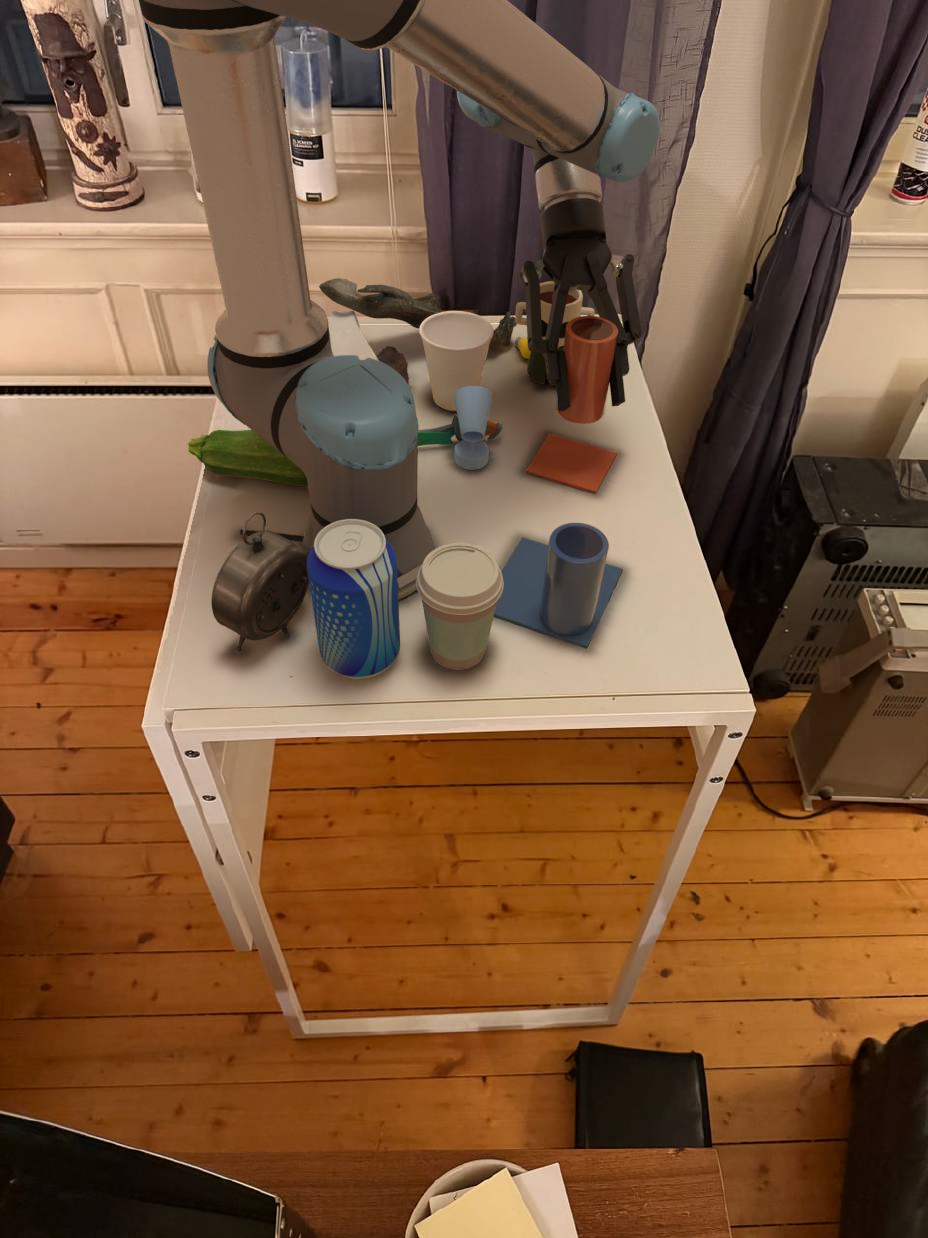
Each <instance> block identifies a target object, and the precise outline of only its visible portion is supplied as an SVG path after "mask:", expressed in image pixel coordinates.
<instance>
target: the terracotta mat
mask: <svg viewBox="0 0 928 1238" xmlns="http://www.w3.org/2000/svg"><path fill="white" fill-rule="evenodd" d="M617 455H618V452H617V451H613V450H609V449H606V448H603V447H599V446H596V445H592V444H588V443H585V442H582V441H577V440H574V439H571V438H567V437H563V436H560V435H557V434H552V433H549V434H548V436H547V437H546V439H545V440H544V442H543V443H542V445H541V446H540V448H539V450H538V451H537V453H536V455H535V456H534V457H533V458H532V460H531V462H530V464H529V465H528V467H527V468H526V470H525V474H527V475H531V476H534V477H537V478H538V477H539V478H541V479H544V480H548V481H551V482H555V483H558V484H561V485H564V486H568V487H571V488H575V489H578V490H581V491H585V492H588V493H591V494H595V495H596V494H597V493H598V491H599V489H600V487H601V485H602V484H603V481H604V480H605V478H606V476H607V474H608V472H609V470H610V468H611V466H612V464H613V463H614V461H615V459H616V457H617Z"/></svg>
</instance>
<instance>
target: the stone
mask: <svg viewBox="0 0 928 1238" xmlns="http://www.w3.org/2000/svg"><path fill="white" fill-rule="evenodd" d="M376 357H377V359H378V360H379V361H380V362H383V363H385V364H386V365H388V366H390V367H391V368H393V369H394V370H396V371H397V372H398V373H399V374H400V375H401V376H402V377H403V378H404V379H405V381H406V382H407V384H408V385H409V382H410V376H409V373H408V367H409V363H408V362H407V358H406V357H405V355H404V353H402V352H399V350H398V349H397V348H396V347H395V346H393V345H391V346H390V345H389V346H388V345H387V346H385V347H384V348H382V349H381V351H380V352H379V353H378V354H377V355H376Z"/></svg>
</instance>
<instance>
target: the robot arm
mask: <svg viewBox="0 0 928 1238" xmlns="http://www.w3.org/2000/svg"><path fill="white" fill-rule="evenodd" d="M138 3H139V9H140V12H141V16H142V19H143V21H144V22H145V23H146V24H147V25H148V26H149V27H151V29H152V30H154V31H155V32H156V33H158V34H159V36H161V37H162V38H163V39H164V40H165V41H166V43H167V45H168V48H169V52H170V56H171V58H170V59H171V62H172V66H173V71H174V76H175V81H176V84H177V89H178V95H179V99H180V104H181V109H182V112H183V113H182V114H183V117H184V121H185V127H186V130H187V135H188V141H189V146H190V149H191V155H192V159H193V164H194V168H195V173H196V178H197V182H198V187H199V191H200V196H201V201H202V205H203V210H204V215H205V220H206V224H207V229H208V233H209V236H210V243H211V247H212V252H213V257H214V260H215V261H214V262H215V264H216V265H215V266H216V271H217V275H218V280H219V284H220V288H221V293H222V298H223V302H224V307H225V309H224V310H223V312H222V313H221V314H220V315H219V316H218V318H217V319H216V322H215V325H214V333H215V334H214V337H213V340H214V344H213V346H212V347H211V346H210V347H209V350H208V354H207V362H206V365H207V374H208V380H209V383H210V386H211V389H212V391H213V393H214V395H215V396H216V398H217V399H218V400H219V401H220V403H221V404H222V405H223V407H224V408H225V409H226V410H227V412H229V413H230V414H231V416H232V417H234V418H235V419H236V420H237V421H239V422H240V423H242V425H244V426H246V427H248V428H249V430H253V431H254V432H255V433H256V434H258V435H259V436H260V437H262V438H263V439H264V440H265V441H267V442H268V443H269V444H270V445H272V446H273V447H274V448H275V449H277V450H278V451H279V452H280V453H282V454H283V455H284V456H286V457H287V458H288V459H289V460H291V461H292V462H293V463H294V464H295V465H297V466H298V467H299V468H300V469H301V470H302V471H303V472H304V473H305V475H306V477H307V482H308V487H307V488H308V489H307V490H308V497H309V503H310V514H309V517H308V521H307V523H306V527H305V531H304V534H303V535H301V534H293V533H292V534H291V533H282V532H276V533H277V534H278V535H280V536H282V537H284V538H286V539H288V540H290V541H292V542H301V547H302V548H303V549H304V550H305V551H306V553H307V555H309V552H310V550H311V549H312V547H313V546H314V541H315V538H316V536H317V534H318V533H319V532H320V531H321V530H322V529H323V528H324V527H326V526H327V525H329V524H331V523H333V522H336V521H340V520H345V519H358V520H364V521H367V522H370V523H372V524H374V525H376V526H377V527H378V528H379V529H380V530H381V531H382V532H383V534H384V536H385V539H386V540H387V541H388V542H389V543H390V544H391V546H392V547H393V549H394V551H395V554H396V559H397V581H398V601H399V600H402V599H405V598H406V597H407V596H409V595H411V594H413V593H414V592H415V591H418V590H417V586H416V580H417V576H418V571H419V569H420V567H421V565H422V564H423V562H424V560H425V558H426V557H427V555H428V554H429V553H430V552H432V551H433V550H434V549H435V544H434V539H433V536H432V533H431V531H430V529H429V527H428V526H427V523H426V521H425V518H424V516H423V513H422V511H421V507H420V506H419V503H418V502H419V501H418V499H419V497H418V479H419V478H418V475H419V474H418V471H419V470H418V469H419V467H418V458H419V457H418V456H419V455H418V451H419V450H418V449H419V448H418V447H419V446H418V430H419V419H418V417H417V409H416V403H415V397H414V393H413V391H412V389H411V387H410V385H409V383H408V384H407V382H406V381H405V379H404V378H403V377H402V376H401V375H400V374H399V373H398V372H397V371H396V370H394V369H393V368H391V367H390V366H388V365H386V364H385V363H383V362H380V361H378V360H375V359H372V358H366V359H365V360H360V359H359V358H358V356H356V355H339V356H334V355H333V353H332V349H331V341H330V333H329V319H328V316H327V313H326V310H324V308H323V307H321V306H320V305H319V304H318V303H317V302H315V301H313V300H312V299H311V294H310V293H311V292H310V288H309V280H308V271H307V264H306V259H305V250H304V241H303V234H302V228H301V227H302V226H301V220H300V213H299V206H298V198H297V192H296V191H297V190H296V183H295V177H294V168H293V163H292V153H291V147H290V138H289V131H288V125H287V118H286V109H285V103H284V96H283V95H284V94H283V88H282V81H281V80H282V79H281V73H280V65H279V58H278V51H277V43H276V34H277V32H278V31H279V29H280V28H281V26H282V25H283V24H284V22H285V21H286V19H287V18H288V19H291V20H294V21H298V22H302V23H305V24H308V25H310V26H313V27H315V28H317V29H320V30H323V31H326V32H329V33H331V34H333V35H335V36H337V37H340V38H341V39H343V40H345V41H347V42H349V43H350V44H351V45H353V46H354V47H356V48H358V49H361V50H364V51H378V50H381V49H384V48H387V49H388V50H389V51H391V52H393V53H395V54H396V55H398V56H399V57H402V58H403V59H405V60H406V61H408V62H410V63H411V64H413V65H415V67H418V68H419V69H421V70H423V71H424V72H426V73H427V74H429V75H431V76H432V77H433V78H435V79H437V80H439V81H440V82H442V83H444V84H446V85H447V86H449V87H450V88H452V89H454V90H455V91H456V96H457V101H458V105H459V107H460V109H461V111H462V113H464V115H465V116H466V117H468V118H469V119H470V120H472V121H474V122H475V123H477V124H478V126H480V128H485V129H488V130H491V131H492V132H495V133H497V134H499V135H501V136H503V137H506V138H508V139H510V140H512V141H515V142H517V143H518V144H520V145H522V146H525V148H529V149H530V150H531V154H532V155H531V156H532V163H533V169H534V170H533V171H534V179H535V187H536V188H535V189H536V197H537V198H536V199H537V207H538V211H539V213H540V215H539V219H538V220H539V228H540V229H539V230H540V237H541V238H540V239H541V246H542V253H541V256H540V258H538V259H536V260H534V261H532V260H525V262H524V264H523V265H522V266H521V268H520V270H519V276H520V279H521V281H522V284H523V286H524V294H525V302H526V309H525V314H526V315H525V316H526V317H525V318H527V325H526V337H527V340H528V349H529V351H531V352H539V353H541V354H542V356H543V357H545V364H546V373H547V379H546V380H547V381H548V383H549V384H550V383H551V382H555V383H556V385H555V393H556V403H557V402H558V411H565V410H567V409H568V408H569V407H571V405H570V395H569V386H568V377H567V368H566V358H565V351H558V352H557V348H558V344H559V338H560V333H561V328H562V323H563V317H564V312H565V307H566V301H567V296H568V293H569V292H572V291H574V290H581V292H586V293H587V295H588V297H589V299H591V300H592V302H593V305H594V308H595V310H596V312H597V314H598V317H601V318H604V319H607V320H609V321H611V322H612V323H614V324H615V325H616V327H617V329H618V336H617V342H616V348H615V353H614V359H613V365H612V371H611V377H610V382H609V390H610V399H611V401H610V402H611V407H618V406H620V405H622V404H624V403H625V402H626V394H625V386H624V377H625V376H626V375H628V374H629V372H630V362H629V353H628V347H629V345H632V344H634V343H635V342H636V341H638V340H639V339H640V338H641V337H642V326H641V321H640V314H639V308H638V302H637V297H636V290H635V285H634V279H633V278H634V277H633V270H634V264H635V256H634V255H633V254H631V253H627V254H625V256H622V255H619V254H614V253H612V250H611V248H610V247H609V245H608V243H607V230H606V220H605V211H604V206H603V204H602V203H601V202H602V200H603V191H602V183H601V179H603V178H606V179H609V180H612V181H614V182H617V183H627V182H630V181H632V180H634V179H636V178H637V177H639V176H640V175H641V174H642V173H643V172H644V170H645V169H646V168H647V166H648V165H649V164H650V162H651V159H652V156H653V155H654V152H655V150H656V149H657V145H658V143H659V137H660V130H661V121H660V116H659V112H658V109H657V107H656V106H655V105H654V104H653V103H651V102H650V101H649V100H646V99H645V98H641V97H639V96H638V95H637V94H636V93H634V92H627V91H623V90H621V89H619V88H617V87H615V86H614V85H612V83H610V82H609V81H607V80H606V79H605V78H604V77H602V75H600V74H598V73H597V72H595V71H594V70H593V69H592V68H591V67H590V66H589V65H588V64H586V63H585V62H584V61H582V60H581V59H580V58H579V57H577V56H576V55H575V54H573V52H571V51H570V50H569V49H568V48H567V47H565V46H564V45H562V44H561V43H560V42H559V41H558V40H557V39H556V38H554V37H553V36H551V34H549V33H548V32H547V31H545V30H544V29H543V28H542V27H541V26H539V24H537V23H536V22H535V21H533V20H532V19H530V18H529V17H528V16H527V15H526V14H525V13H524V12H522V11H521V10H519V8H517V7H516V6H515V5H513V4H512V3H511V2H510V1H509V0H138ZM608 266H610V268H611V271H612V274H613V276H614V277H615V287H616V293H617V299H618V305H619V310H620V316H619V314H618V312H617V309H616V307H615V304H614V301H613V299H612V297H611V295H610V293H609V290H608V283H607V280H606V278H605V275H604V274H605V272H606V270H607V268H608ZM542 271H544V273H545V274H546V275H547V276H548V278H550V281H553V282H554V283H555V285H554V291H553V296H552V299H553V300H552V305H551V311H550V316H549V321H548V327H547V332H546V337H545V340H544V339H542V319H541V297H540V283H541V282H540V279H541V278H542V276H543V272H542ZM620 317H621V319H620ZM259 531H260V530H251V529H246V537H248V536H250V535H252V534H254V533H256V532H259ZM242 533H243V528H242V529H240V530H239V535H240V536H242Z"/></svg>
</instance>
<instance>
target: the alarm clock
mask: <svg viewBox="0 0 928 1238" xmlns="http://www.w3.org/2000/svg"><path fill="white" fill-rule="evenodd" d="M256 516H261V518H262V520H263V523H262V529H261V530H258V531H259V532H256V533H254V534H252V535H250V536H246V530H248V526H249V523H250V522H251V520H252V519H253V518H254V517H256ZM266 528H267V518H266V515H265V514H264V512H262V511H258V510H257V511H254V512H253V513H251V514H250V515H249V516H248V517H247V518H246V521H245V522H244V524H243V527H242V530H243V533H242V535H241V536H242V540H241V541H240V542H239V543H238V544H237V545H236V546H235V547H234V548H233V549H232V550H231V552H230V553H229V555H228V556H227V557H226V559H225V560H224V562H223V563H222V565H221V567H220V568H219V570H218V573H217V575H216V578H215V580H214V583H213V587H212V593H211V603H210V604H211V605H210V606H211V610H212V615H213V617H214V619H215V620H216V622H217V623H218V624H219V625H221V626H222V627H225V628H227V629H229V630H230V631H232V632H234V633H235V634H237V635H239V638H238V645H237V646H236V648H235V651H236V652H237V653H240V652H242V651H243V646H244V644H245V642H246V640H248V641H253V642H259V641H263V640H264V641H265V640H267V639H269V638H272V637H273V636H275V635H276V634H277V633H279V632H282V634H283V636H284V638H285V639H287V640H289V639H291V633H290V632H289V629H288V627H287V626H288V623H289V622H290V621H291V620H292V619H293V617H294V616H295V615H296V614H297V612H298V611H299V609H300V607H301V605H302V604H303V602H304V600H305V597H306V595H307V593H308V588H309V587H310V585H309V578H308V571H307V558H308V555H307V553H306V551H305V550H304V549H303V548H302V545H299V544H297V543H296V542H295V541H291V540H288V539H286V538H284V537H282V536H280V535H278V534H277V533H278V532H275V531H273V530H268V529H266Z"/></svg>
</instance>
